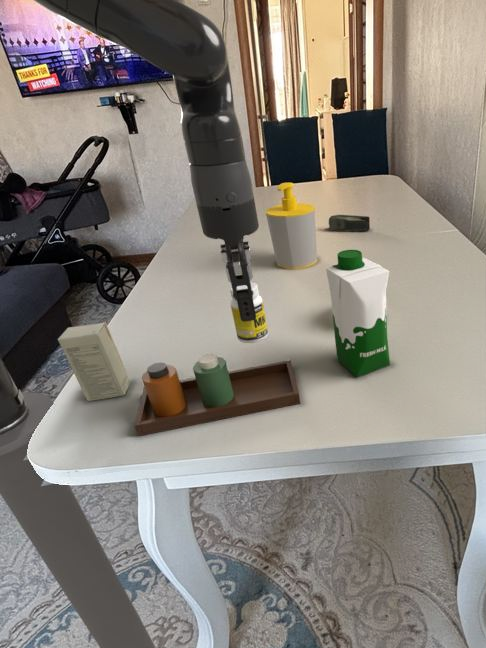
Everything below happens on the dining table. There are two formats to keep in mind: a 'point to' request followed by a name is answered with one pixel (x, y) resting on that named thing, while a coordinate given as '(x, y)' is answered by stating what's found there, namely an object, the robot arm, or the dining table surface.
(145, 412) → the tray
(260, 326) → the supplement bottle
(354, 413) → the dining table surface
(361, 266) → the milk carton
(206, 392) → the green bottle
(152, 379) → the amber bottle
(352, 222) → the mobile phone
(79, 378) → the cosmetic box
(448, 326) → the dining table surface
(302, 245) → the soap bottle
